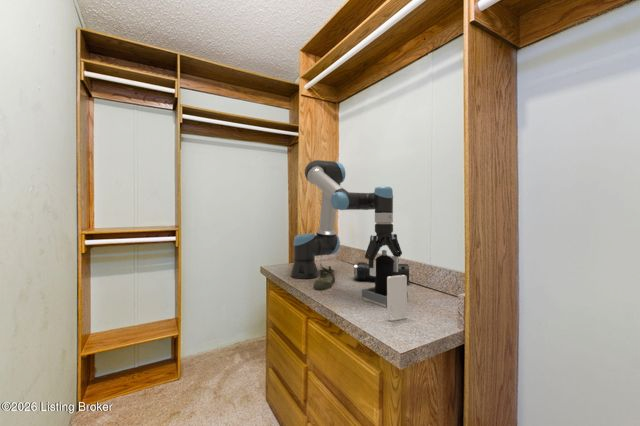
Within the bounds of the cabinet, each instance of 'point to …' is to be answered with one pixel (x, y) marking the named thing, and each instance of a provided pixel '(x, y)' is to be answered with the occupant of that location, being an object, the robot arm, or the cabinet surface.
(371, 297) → the holder
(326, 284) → the hiking shoe
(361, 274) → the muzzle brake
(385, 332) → the cabinet surface
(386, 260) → the aerosol can
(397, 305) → the phone case
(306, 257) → the robot arm
